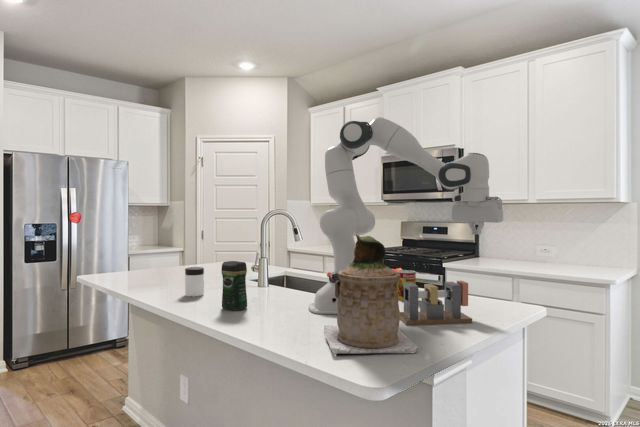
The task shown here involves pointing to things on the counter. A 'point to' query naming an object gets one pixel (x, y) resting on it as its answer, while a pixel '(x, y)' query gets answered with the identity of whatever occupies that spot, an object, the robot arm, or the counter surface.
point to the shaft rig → (433, 307)
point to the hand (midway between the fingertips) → (476, 234)
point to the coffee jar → (234, 285)
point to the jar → (194, 281)
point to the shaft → (449, 293)
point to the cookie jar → (367, 305)
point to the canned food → (405, 281)
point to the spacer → (432, 293)
